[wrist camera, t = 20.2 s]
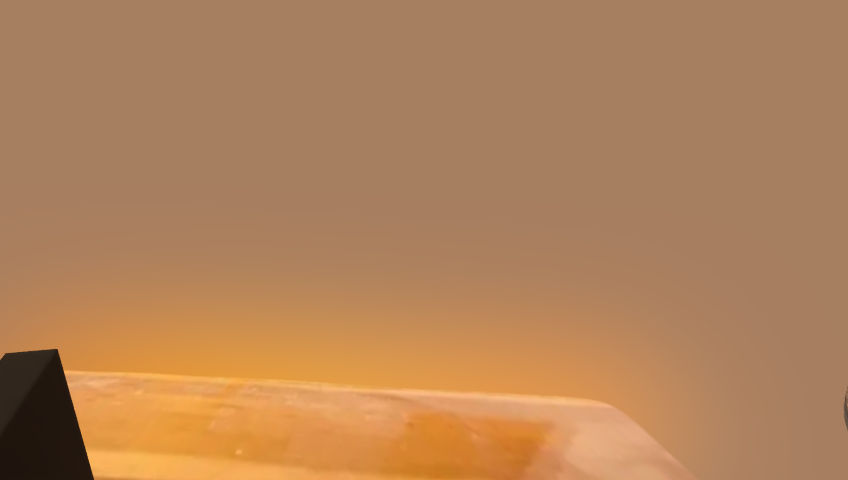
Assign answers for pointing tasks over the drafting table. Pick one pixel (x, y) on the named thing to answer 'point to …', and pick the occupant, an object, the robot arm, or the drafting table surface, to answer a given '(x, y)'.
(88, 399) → the drafting table surface
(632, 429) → the drafting table surface
